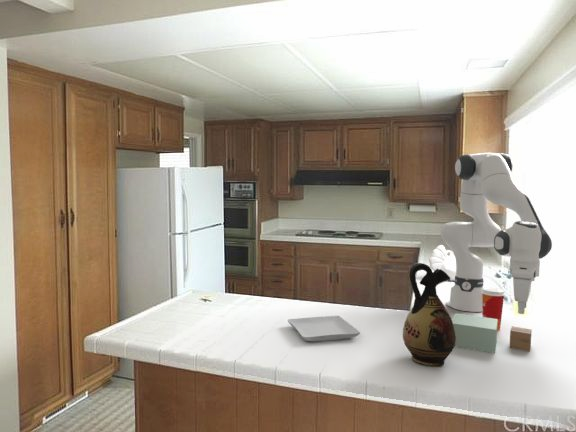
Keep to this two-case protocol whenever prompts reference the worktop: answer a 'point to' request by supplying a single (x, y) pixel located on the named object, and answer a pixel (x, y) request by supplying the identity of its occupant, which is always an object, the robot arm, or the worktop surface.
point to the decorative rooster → (443, 261)
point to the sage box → (475, 332)
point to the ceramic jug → (428, 320)
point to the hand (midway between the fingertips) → (522, 310)
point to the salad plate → (323, 328)
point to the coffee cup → (493, 304)
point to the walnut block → (520, 338)
